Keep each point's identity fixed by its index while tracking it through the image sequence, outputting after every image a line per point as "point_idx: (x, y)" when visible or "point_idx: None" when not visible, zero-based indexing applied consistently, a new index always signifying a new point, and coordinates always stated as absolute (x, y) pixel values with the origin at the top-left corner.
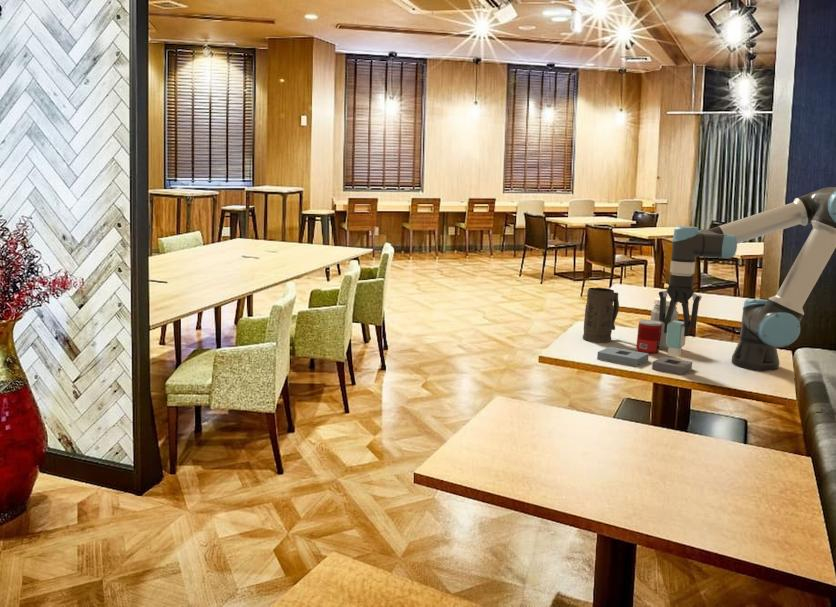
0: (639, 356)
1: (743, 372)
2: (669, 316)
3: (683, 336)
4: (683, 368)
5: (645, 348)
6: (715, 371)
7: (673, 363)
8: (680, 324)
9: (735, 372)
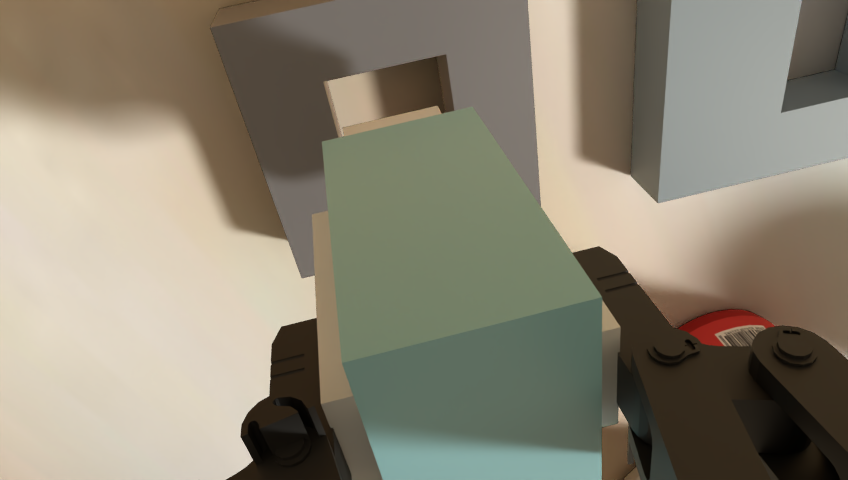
0: (692, 42)
1: (70, 446)
2: (681, 465)
3: (317, 297)
4: (219, 42)
5: (724, 332)
6: (171, 330)
7: None
8: (360, 380)
9: (91, 410)
